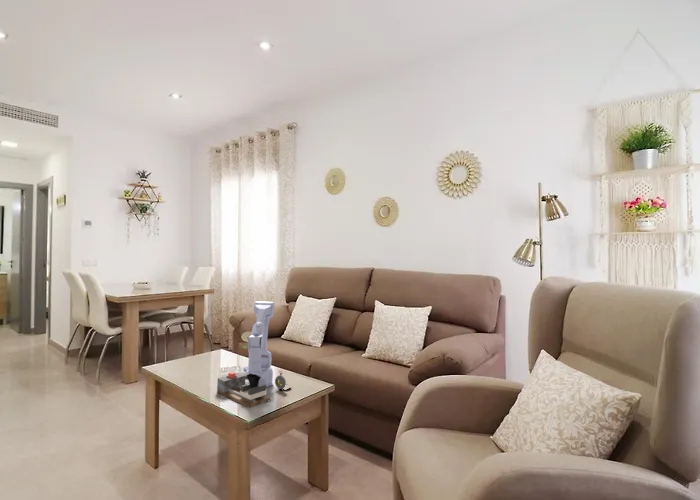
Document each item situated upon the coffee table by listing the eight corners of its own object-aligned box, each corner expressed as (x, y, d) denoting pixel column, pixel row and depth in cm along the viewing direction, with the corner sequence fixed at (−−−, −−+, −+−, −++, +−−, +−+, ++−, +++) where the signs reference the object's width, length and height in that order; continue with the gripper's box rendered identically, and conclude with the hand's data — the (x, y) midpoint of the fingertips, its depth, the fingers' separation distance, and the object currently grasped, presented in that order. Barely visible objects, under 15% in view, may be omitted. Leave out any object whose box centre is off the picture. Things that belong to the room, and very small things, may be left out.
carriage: (255, 390, 183) (256, 381, 183) (266, 394, 178) (266, 385, 178) (240, 395, 176) (240, 385, 176) (250, 399, 171) (250, 389, 171)
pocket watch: (291, 386, 198) (292, 367, 198) (289, 392, 190) (290, 372, 190) (276, 386, 198) (277, 367, 198) (273, 391, 189) (274, 372, 189)
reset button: (232, 379, 191) (232, 371, 191) (236, 381, 189) (237, 373, 189) (226, 381, 188) (226, 373, 188) (230, 383, 186) (230, 375, 186)
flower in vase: (264, 373, 218) (266, 330, 218) (258, 379, 206) (260, 334, 207) (243, 371, 219) (245, 328, 219) (235, 377, 208) (237, 332, 208)
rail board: (237, 386, 195) (238, 372, 195) (270, 400, 178) (270, 385, 179) (217, 392, 186) (217, 378, 186) (248, 407, 169) (249, 392, 169)
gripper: (238, 359, 179) (237, 387, 178) (257, 366, 170) (256, 396, 169) (250, 356, 184) (249, 384, 184) (269, 362, 175) (268, 392, 175)
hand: (253, 389), depth 177 cm, fingers closed
